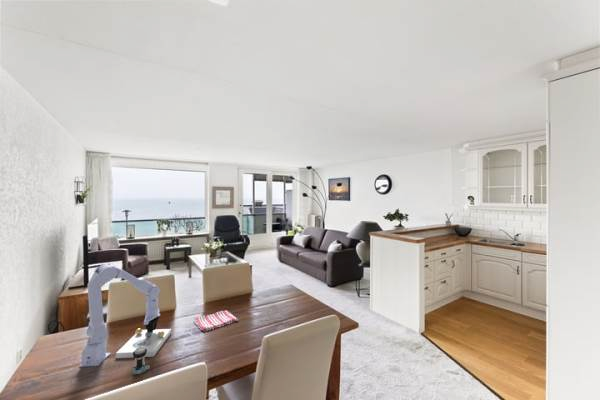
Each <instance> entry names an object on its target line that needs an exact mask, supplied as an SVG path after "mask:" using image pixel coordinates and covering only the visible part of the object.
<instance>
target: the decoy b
mask: <svg viewBox="0 0 600 400" xmlns="http://www.w3.org/2000/svg"><path fill="white" fill-rule="evenodd" d="M157 336H158V337H159V338H161V337H163V336H164V332H163V331H160V332H159V333H158V335H157Z"/></svg>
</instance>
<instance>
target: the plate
mask: <svg viewBox="0 0 600 400" xmlns="http://www.w3.org/2000/svg"><path fill="white" fill-rule="evenodd" d="M160 331H163V332H164V336H163V337H161V338H159V337H158V336H157V335H158V333H159V332H160ZM146 332H147V329H142V333H141V334H139V335H137V334H136V333H135V334H134V335H132V336H131V338H129V340H127V342H126V343H125V344H124V345H123V346H121V347H120V349H118V350H117V352H116V353H115V358H116V359H126V358H127V359H128V358H129V359H130V358H131V359H132V358H134V357H133V352H134V351H135V350H136V349H137V348H140V347H144V348H146V349H147V352H146V355H145V356H144V358H147V357H148V358H149V357H153V358H154V357H155V356H156V354H157V353H158V351H159V350H160V348H161V347H162V346H163V344H165V342H166V341H167V339H168V338H169V337H170V336H171V334H172V328H161V329H159V328H158V329H157V328H156V329H155V330H153V333H152V336H151V337H149V338H146V337H145V334H146Z"/></svg>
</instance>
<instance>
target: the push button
mask: <svg viewBox="0 0 600 400" xmlns="http://www.w3.org/2000/svg"><path fill="white" fill-rule="evenodd" d="M146 352H147V349H146V348H144V347H140V348H137V349H136V350H135V351H134V352H133V358H134V365H133V367H132V375H133V376H134V375H140V374H142V373H145V372H146V371H147V370H149V369H150V365H147V363H146V362H145V357H144V356H145V355H146Z"/></svg>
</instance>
